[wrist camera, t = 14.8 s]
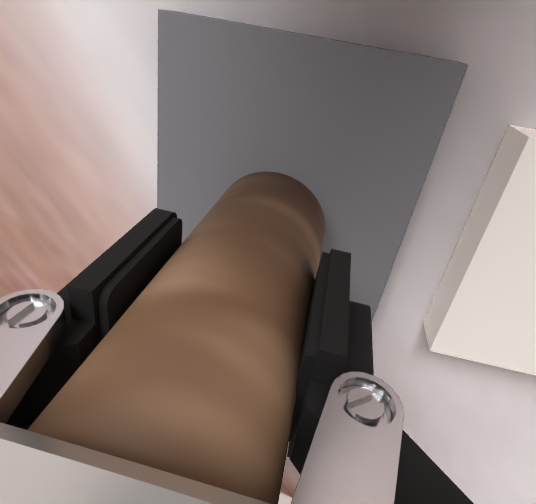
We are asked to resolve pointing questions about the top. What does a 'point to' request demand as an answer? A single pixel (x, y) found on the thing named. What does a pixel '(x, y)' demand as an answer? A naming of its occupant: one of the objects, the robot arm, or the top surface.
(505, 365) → the tile
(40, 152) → the top surface
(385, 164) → the mat
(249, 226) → the dowel
